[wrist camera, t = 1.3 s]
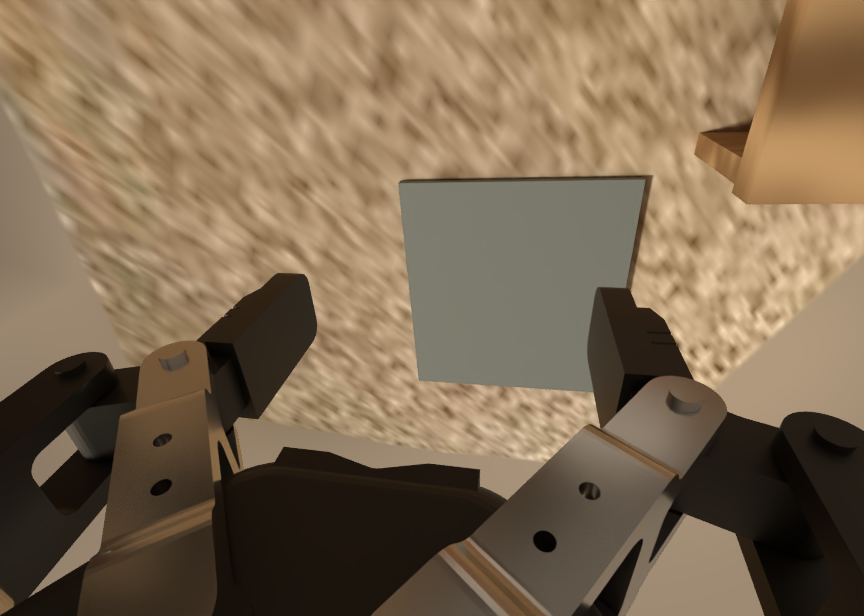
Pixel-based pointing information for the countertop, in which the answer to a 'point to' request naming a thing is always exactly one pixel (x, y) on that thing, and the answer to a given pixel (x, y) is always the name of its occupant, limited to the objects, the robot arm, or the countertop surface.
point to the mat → (513, 274)
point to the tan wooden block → (803, 114)
